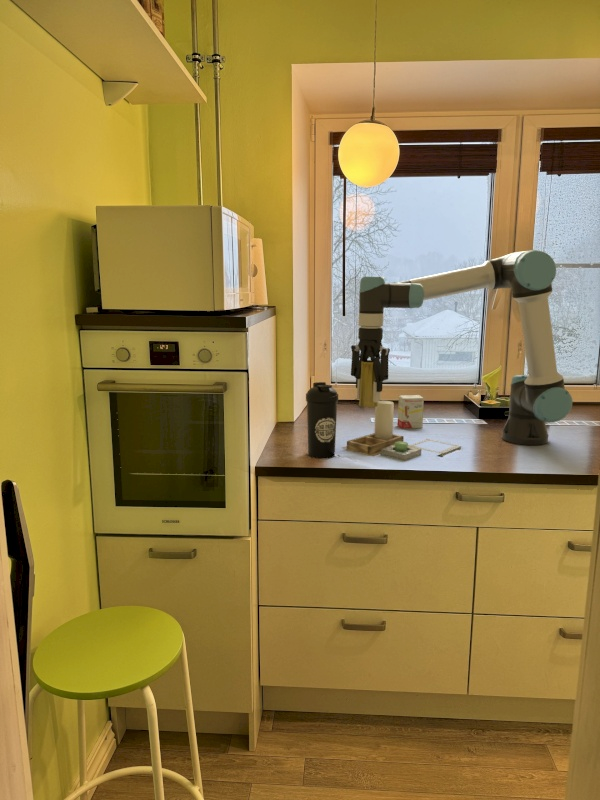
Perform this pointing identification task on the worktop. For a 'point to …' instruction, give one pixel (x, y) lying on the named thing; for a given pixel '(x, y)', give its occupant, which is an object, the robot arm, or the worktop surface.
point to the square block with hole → (400, 452)
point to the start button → (401, 446)
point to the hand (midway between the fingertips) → (368, 400)
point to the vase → (367, 385)
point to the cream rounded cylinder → (384, 420)
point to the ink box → (410, 411)
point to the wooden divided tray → (371, 444)
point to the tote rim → (441, 451)
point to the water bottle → (321, 420)
